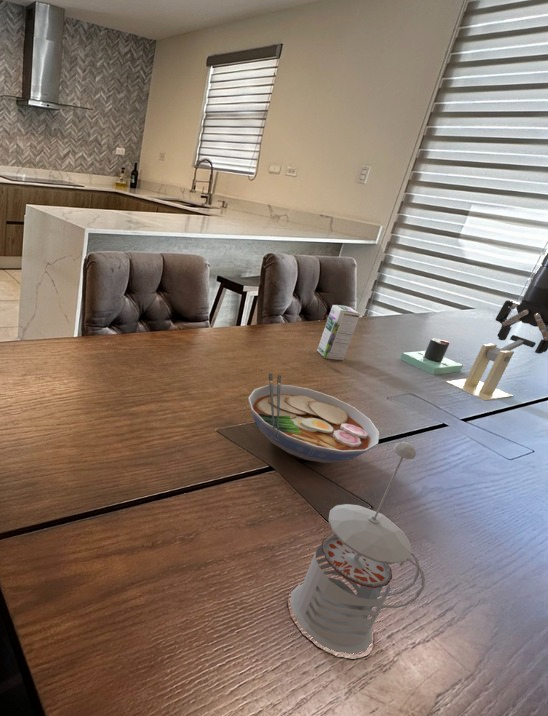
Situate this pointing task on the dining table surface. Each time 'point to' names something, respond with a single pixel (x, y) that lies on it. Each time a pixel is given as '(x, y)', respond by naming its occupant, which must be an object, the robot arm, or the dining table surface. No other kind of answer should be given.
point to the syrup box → (338, 332)
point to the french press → (353, 574)
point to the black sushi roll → (436, 350)
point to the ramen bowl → (311, 423)
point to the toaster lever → (509, 347)
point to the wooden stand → (488, 387)
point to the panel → (431, 363)
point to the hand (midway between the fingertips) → (519, 346)
